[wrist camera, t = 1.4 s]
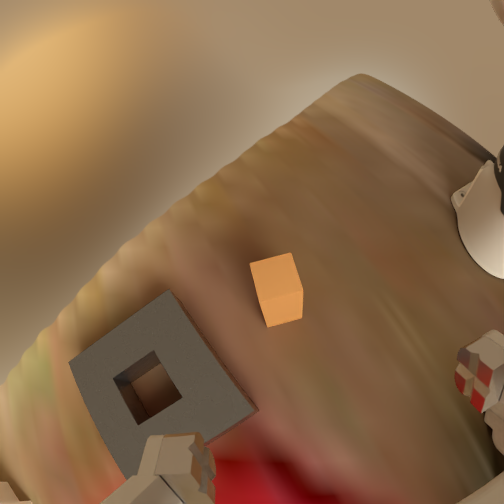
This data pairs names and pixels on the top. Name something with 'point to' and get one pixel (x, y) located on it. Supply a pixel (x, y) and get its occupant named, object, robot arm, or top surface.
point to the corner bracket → (9, 495)
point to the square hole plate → (179, 370)
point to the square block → (278, 289)
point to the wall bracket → (496, 424)
